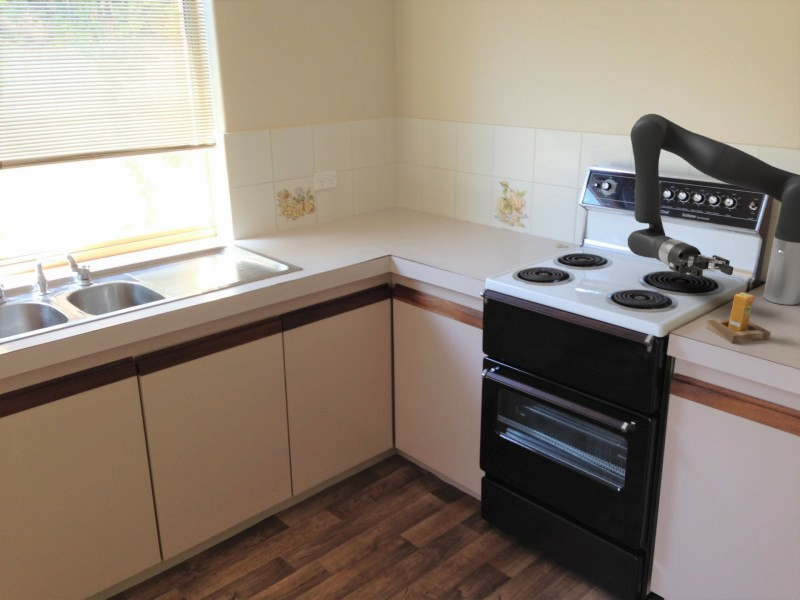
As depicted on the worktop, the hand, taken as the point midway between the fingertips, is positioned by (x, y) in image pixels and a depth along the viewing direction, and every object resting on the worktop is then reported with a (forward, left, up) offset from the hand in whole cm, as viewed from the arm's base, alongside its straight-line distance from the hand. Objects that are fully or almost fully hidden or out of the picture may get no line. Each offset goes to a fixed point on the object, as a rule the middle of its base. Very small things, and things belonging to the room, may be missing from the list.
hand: (716, 272), depth 183 cm
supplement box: (0, +11, -12) cm, 17 cm away
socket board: (0, +11, -12) cm, 16 cm away
